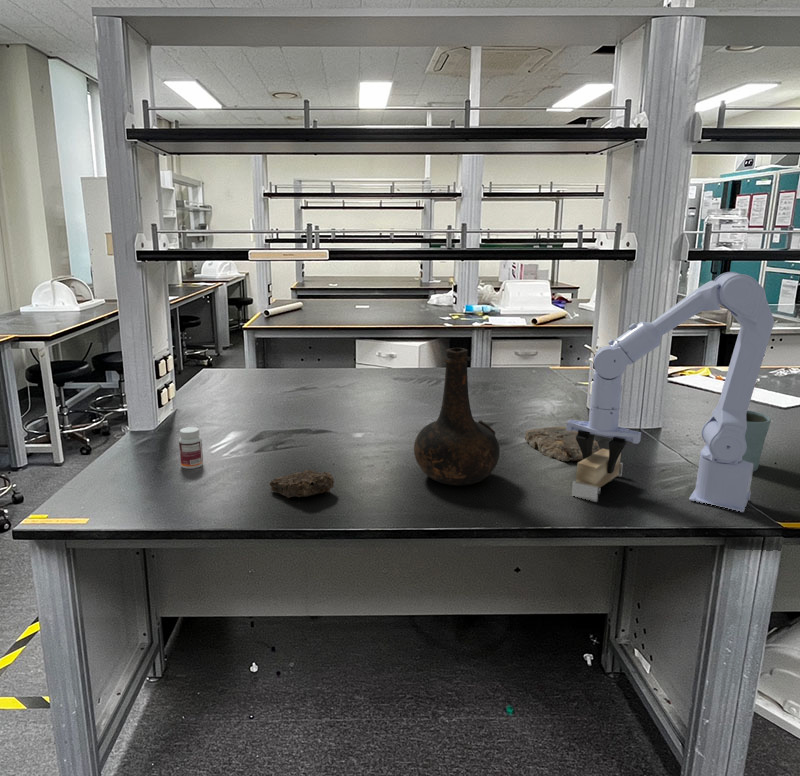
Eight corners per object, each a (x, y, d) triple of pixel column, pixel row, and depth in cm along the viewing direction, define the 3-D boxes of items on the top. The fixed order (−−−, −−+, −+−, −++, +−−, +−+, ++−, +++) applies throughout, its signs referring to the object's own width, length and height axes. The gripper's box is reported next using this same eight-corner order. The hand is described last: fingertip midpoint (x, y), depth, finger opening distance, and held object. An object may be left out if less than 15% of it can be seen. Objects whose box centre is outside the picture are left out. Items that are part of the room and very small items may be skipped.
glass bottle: (512, 489, 124) (519, 354, 118) (429, 499, 119) (432, 359, 113) (477, 459, 141) (481, 340, 134) (403, 467, 136) (404, 343, 129)
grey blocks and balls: (621, 476, 132) (622, 463, 131) (596, 502, 118) (597, 488, 118) (598, 470, 135) (599, 458, 134) (571, 496, 121) (572, 482, 121)
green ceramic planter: (731, 455, 145) (738, 406, 142) (772, 469, 137) (781, 418, 134) (702, 461, 141) (709, 412, 138) (744, 476, 132) (752, 424, 129)
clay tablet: (614, 465, 139) (571, 436, 158) (616, 445, 138) (573, 418, 157) (558, 471, 136) (521, 441, 155) (559, 451, 135) (522, 423, 154)
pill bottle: (185, 461, 138) (182, 426, 136) (206, 461, 138) (203, 426, 136) (177, 469, 134) (174, 432, 132) (198, 469, 133) (196, 433, 131)
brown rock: (340, 496, 121) (339, 472, 119) (296, 510, 114) (295, 485, 113) (309, 479, 129) (308, 456, 128) (266, 491, 123) (265, 467, 121)
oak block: (618, 474, 129) (620, 452, 128) (594, 491, 120) (596, 467, 119) (600, 470, 132) (602, 448, 131) (575, 486, 123) (577, 462, 122)
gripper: (647, 407, 121) (640, 471, 125) (576, 396, 130) (571, 456, 133) (638, 415, 116) (630, 482, 119) (564, 403, 124) (559, 465, 127)
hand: (599, 469), depth 126 cm, fingers closed on oak block, 4 cm apart
